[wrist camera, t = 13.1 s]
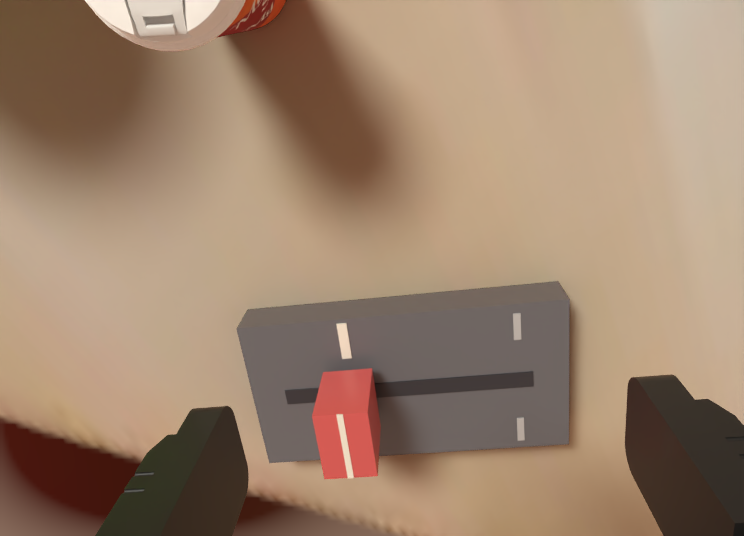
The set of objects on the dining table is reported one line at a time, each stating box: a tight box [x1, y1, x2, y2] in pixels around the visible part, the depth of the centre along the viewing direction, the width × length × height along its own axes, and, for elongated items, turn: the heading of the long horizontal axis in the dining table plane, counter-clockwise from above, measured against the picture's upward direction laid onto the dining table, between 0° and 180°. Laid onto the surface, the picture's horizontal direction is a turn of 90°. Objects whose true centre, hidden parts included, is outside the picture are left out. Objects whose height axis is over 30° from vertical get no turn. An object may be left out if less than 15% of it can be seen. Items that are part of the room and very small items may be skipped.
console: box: [237, 281, 570, 463], centre depth 42 cm, size 23×12×3 cm, turn 97°
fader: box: [312, 368, 381, 479], centre depth 38 cm, size 4×5×6 cm
